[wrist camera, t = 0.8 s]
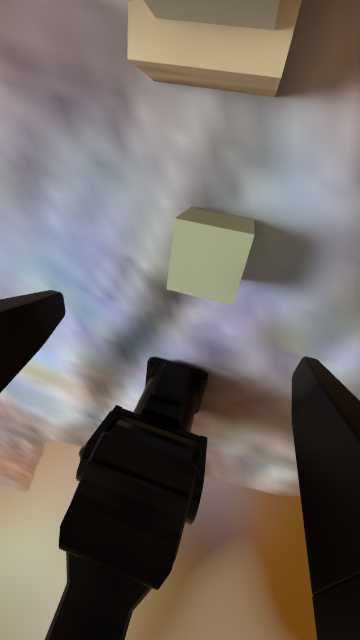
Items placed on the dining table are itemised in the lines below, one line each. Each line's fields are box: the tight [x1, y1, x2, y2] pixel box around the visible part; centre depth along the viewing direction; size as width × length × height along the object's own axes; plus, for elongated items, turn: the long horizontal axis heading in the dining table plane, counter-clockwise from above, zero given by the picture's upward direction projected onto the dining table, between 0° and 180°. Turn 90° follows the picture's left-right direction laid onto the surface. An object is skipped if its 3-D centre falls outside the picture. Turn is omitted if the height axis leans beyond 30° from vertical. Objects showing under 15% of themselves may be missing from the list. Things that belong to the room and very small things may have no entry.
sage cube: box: [166, 207, 255, 305], centre depth 17 cm, size 4×4×4 cm
